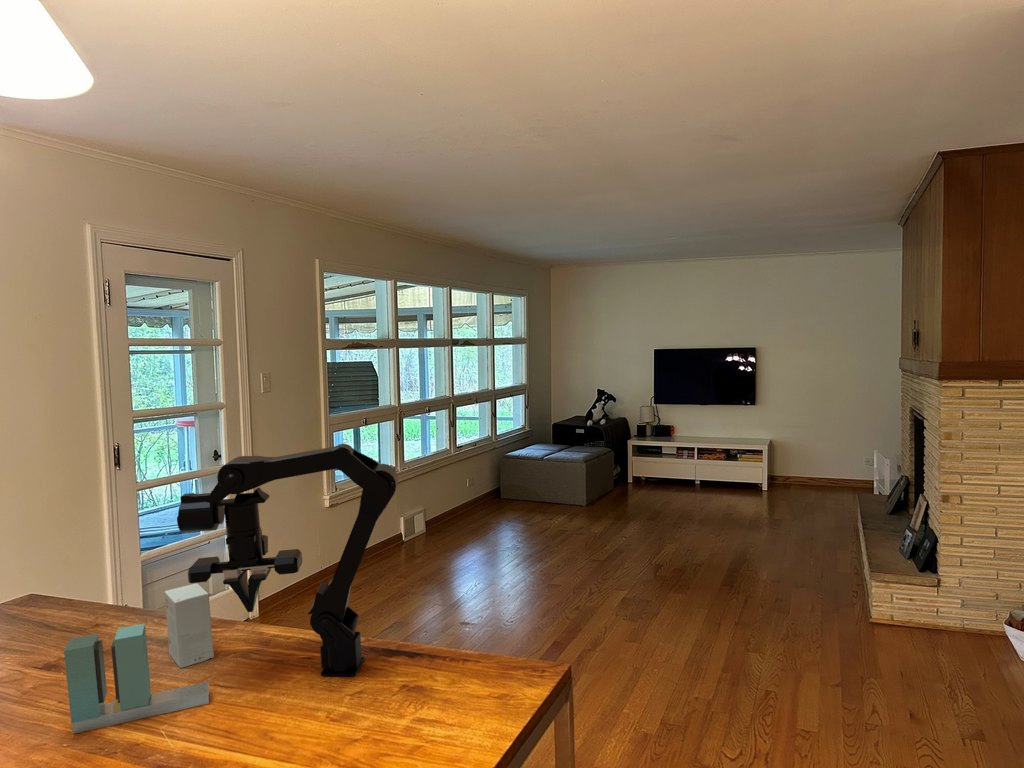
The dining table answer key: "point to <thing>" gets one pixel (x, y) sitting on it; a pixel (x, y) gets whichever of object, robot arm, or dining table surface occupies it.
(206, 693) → the rail
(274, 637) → the dining table surface
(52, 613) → the dining table surface
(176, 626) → the small box
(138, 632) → the tall teal pillar
